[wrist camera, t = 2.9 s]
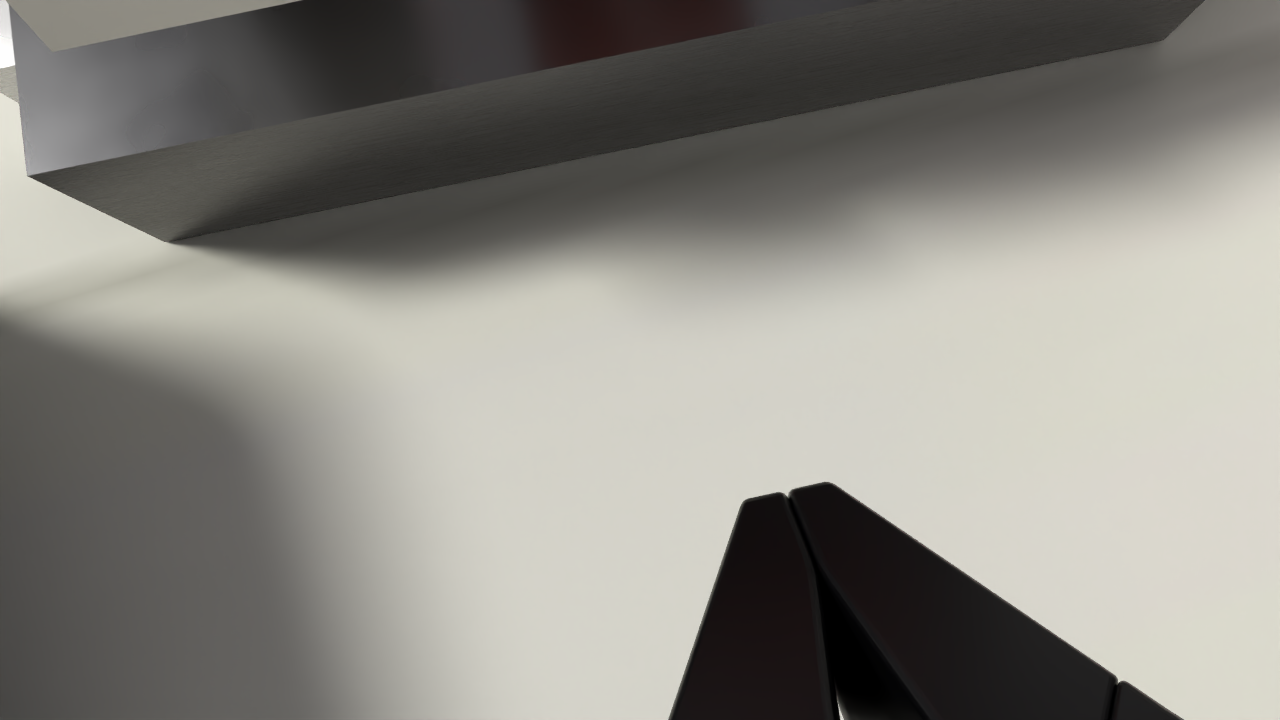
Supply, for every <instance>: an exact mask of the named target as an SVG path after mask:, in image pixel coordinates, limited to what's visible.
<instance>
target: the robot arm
mask: <svg viewBox="0 0 1280 720" xmlns="http://www.w3.org/2000/svg"><path fill="white" fill-rule="evenodd" d="M837 701H838V702H837ZM838 704H839V707H840V710H841V713H842V716H843V718H844V720H1184V719H1182V718H1180V717H1179V716H1177V715H1176V714H1174V713H1173V712H1171V711H1170V710H1168V709H1166V708H1165V707H1164V706H1162V705H1161V704H1159V703H1158V702H1156V701H1155V700H1153V699H1152V698H1150V697H1149V696H1147V695H1146V694H1144V693H1143V692H1141V691H1140V690H1138V689H1137V688H1136V687H1134V686H1133V685H1131V684H1130V683H1128V682H1126V681H1121V682H1119V683H1118V679H1117V677H1116V676H1115V675H1114V674H1112V673H1111V672H1109V671H1108V670H1107V669H1105V668H1104V667H1102V666H1101V665H1099V664H1098V663H1096V662H1095V661H1093V660H1092V659H1090V658H1089V657H1087V656H1086V655H1084V654H1083V653H1082V652H1080V651H1079V650H1077V649H1076V648H1074V647H1073V646H1071V645H1070V644H1068V643H1067V642H1065V641H1064V640H1062V639H1061V638H1060V637H1058V636H1057V635H1055V634H1054V633H1052V632H1051V631H1049V630H1048V629H1046V628H1045V627H1043V626H1042V625H1040V624H1039V623H1037V622H1036V621H1035V620H1033V619H1032V618H1030V617H1029V616H1027V615H1026V614H1024V613H1023V612H1021V611H1020V610H1018V609H1017V608H1015V607H1014V606H1013V605H1011V604H1010V603H1008V602H1007V601H1005V600H1004V599H1002V598H1001V597H999V596H998V595H996V594H995V593H993V592H992V591H990V590H989V589H988V588H986V587H985V586H983V585H982V584H980V583H979V582H977V581H976V580H974V579H973V578H971V577H970V576H968V575H967V574H966V573H964V572H963V571H961V570H960V569H958V568H957V567H955V566H954V565H952V564H951V563H949V562H948V561H946V560H945V559H943V558H942V557H941V556H939V555H938V554H936V553H935V552H933V551H932V550H930V549H929V548H927V547H926V546H924V545H923V544H921V543H920V542H919V541H917V540H916V539H914V538H913V537H911V536H910V535H908V534H907V533H905V532H904V531H902V530H901V529H899V528H898V527H896V526H895V525H894V524H892V523H891V522H889V521H888V520H886V519H885V518H883V517H882V516H880V515H879V514H877V513H876V512H874V511H873V510H872V509H870V508H869V507H867V506H866V505H864V504H863V503H861V502H860V501H858V500H857V499H855V498H854V497H852V496H851V495H849V494H848V493H847V492H845V491H844V490H842V489H841V488H839V487H838V486H836V485H835V484H833V483H830V482H822V483H818V484H813V485H809V486H804V487H799V488H795V489H792V490H791V491H790V492H789V495H788V497H787V496H786V495H785V494H784V493H781V492H776V493H772V494H767V495H763V496H758V497H754V498H749V499H746V500H744V501H743V503H742V504H741V506H740V509H739V512H738V515H737V518H736V521H735V524H734V527H733V530H732V533H731V536H730V538H729V541H728V544H727V547H726V550H725V553H724V556H723V559H722V562H721V565H720V568H719V571H718V574H717V577H716V580H715V583H714V586H713V589H712V592H711V595H710V598H709V601H708V604H707V607H706V610H705V613H704V616H703V618H702V621H701V624H700V627H699V630H698V633H697V636H696V639H695V642H694V645H693V648H692V651H691V654H690V657H689V660H688V663H687V666H686V669H685V672H684V675H683V678H682V681H681V684H680V687H679V690H678V693H677V696H676V698H675V701H674V704H673V707H672V710H671V713H670V716H669V719H668V720H840V715H839V708H838Z"/></svg>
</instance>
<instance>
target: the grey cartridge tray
mask: <svg viewBox="0 0 1280 720" xmlns="http://www.w3.org/2000/svg"><path fill="white" fill-rule="evenodd" d="M1204 1H1205V0H301V1H296V2H291V3H286V4H282V5H277V6H272V7H267V8H262V9H257V10H253V11H248V12H243V13H238V14H233V15H229V16H224V17H219V18H214V19H209V20H205V21H200V22H195V23H190V24H185V25H180V26H176V27H171V28H166V29H161V30H156V31H152V32H147V33H142V34H137V35H132V36H128V37H123V38H118V39H113V40H108V41H103V42H99V43H94V44H89V45H84V46H79V47H75V48H70V49H65V50H60V51H55V52H52V51H51V50H50V49H49V48H48V47H47V46H46V45H45V43H44V42H43V41H42V40H41V39H40V38H39V37H38V36H37V35H36V34H35V32H34V31H33V30H32V29H31V28H30V27H29V26H28V25H27V24H26V22H25V21H24V20H23V19H22V18H21V17H20V16H19V15H18V14H17V12H16V11H15V10H14V9H13V8H12V7H11V6H10V5H9V4H8V3H7V1H6V0H0V93H2V94H4V95H6V96H7V97H9V98H11V99H12V100H14V101H16V102H18V103H19V106H20V115H21V124H22V134H23V143H24V152H25V161H26V171H27V176H28V177H30V178H33V179H35V180H37V181H39V182H41V183H43V184H45V185H47V186H49V187H51V188H53V189H55V190H58V191H60V192H62V193H64V194H66V195H68V196H70V197H72V198H74V199H76V200H78V201H80V202H83V203H85V204H87V205H89V206H91V207H93V208H95V209H97V210H99V211H101V212H103V213H106V214H108V215H110V216H112V217H114V218H116V219H118V220H120V221H122V222H124V223H126V224H128V225H131V226H133V227H135V228H137V229H139V230H141V231H143V232H145V233H147V234H149V235H151V236H154V237H156V238H158V239H160V240H162V241H164V242H169V241H174V240H179V239H183V238H188V237H193V236H198V235H203V234H208V233H213V232H218V231H223V230H228V229H233V228H238V227H243V226H248V225H253V224H258V223H262V222H267V221H272V220H277V219H282V218H287V217H292V216H297V215H302V214H307V213H312V212H317V211H322V210H327V209H332V208H337V207H341V206H346V205H351V204H356V203H361V202H366V201H371V200H376V199H381V198H386V197H391V196H396V195H401V194H406V193H411V192H416V191H420V190H425V189H430V188H435V187H440V186H445V185H450V184H455V183H460V182H465V181H470V180H475V179H480V178H485V177H490V176H495V175H499V174H504V173H509V172H514V171H519V170H524V169H529V168H534V167H539V166H544V165H549V164H554V163H559V162H564V161H569V160H573V159H578V158H583V157H588V156H593V155H598V154H603V153H608V152H613V151H618V150H623V149H628V148H633V147H638V146H643V145H648V144H652V143H657V142H662V141H667V140H672V139H677V138H682V137H687V136H692V135H697V134H702V133H707V132H712V131H717V130H722V129H727V128H731V127H736V126H741V125H746V124H751V123H756V122H761V121H766V120H771V119H776V118H781V117H786V116H791V115H796V114H801V113H806V112H810V111H815V110H820V109H825V108H830V107H835V106H840V105H845V104H850V103H855V102H860V101H865V100H870V99H875V98H880V97H885V96H889V95H894V94H899V93H904V92H909V91H914V90H919V89H924V88H929V87H934V86H939V85H944V84H949V83H954V82H959V81H963V80H968V79H973V78H978V77H983V76H988V75H993V74H998V73H1003V72H1008V71H1013V70H1018V69H1023V68H1028V67H1033V66H1038V65H1042V64H1047V63H1052V62H1057V61H1062V60H1067V59H1072V58H1077V57H1082V56H1087V55H1092V54H1097V53H1102V52H1107V51H1112V50H1117V49H1121V48H1126V47H1131V46H1136V45H1141V44H1146V43H1151V42H1156V41H1161V40H1164V39H1165V38H1166V37H1167V36H1168V35H1169V34H1170V33H1171V32H1172V31H1173V30H1174V29H1175V28H1176V27H1178V26H1179V25H1180V24H1181V23H1182V22H1183V21H1184V20H1185V19H1186V18H1187V17H1188V16H1189V15H1190V14H1191V13H1192V12H1193V11H1194V10H1195V9H1196V8H1197V7H1198V6H1199V5H1200V4H1202V3H1203V2H1204Z"/></svg>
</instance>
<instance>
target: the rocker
mask: <svg viewBox="0 0 1280 720" xmlns="http://www.w3.org/2000/svg"><path fill="white" fill-rule="evenodd" d="M6 1H7V3H8V4H9V5H10V6H11V7H12V8H13V9H14V10H15V11H16V12H17V14H18V15H19V16H20V17H21V18H22V19H23V20H24V21H25V22H26V24H27V25H28V26H29V27H30V28H31V29H32V30H33V31H34V32H35V34H36V35H37V36H38V37H39V38H40V39H41V40H42V41H43V42H44V43H45V45H46V46H47V47H48V48H49V49H50V50H51V51H52V52H55V51H60V50H65V49H70V48H75V47H79V46H84V45H89V44H94V43H99V42H103V41H108V40H113V39H118V38H123V37H128V36H132V35H137V34H142V33H147V32H152V31H156V30H161V29H166V28H171V27H176V26H180V25H185V24H190V23H195V22H200V21H205V20H209V19H214V18H219V17H224V16H229V15H233V14H238V13H243V12H248V11H253V10H257V9H262V8H267V7H272V6H277V5H282V4H286V3H291V2H296V1H301V0H6Z"/></svg>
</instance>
